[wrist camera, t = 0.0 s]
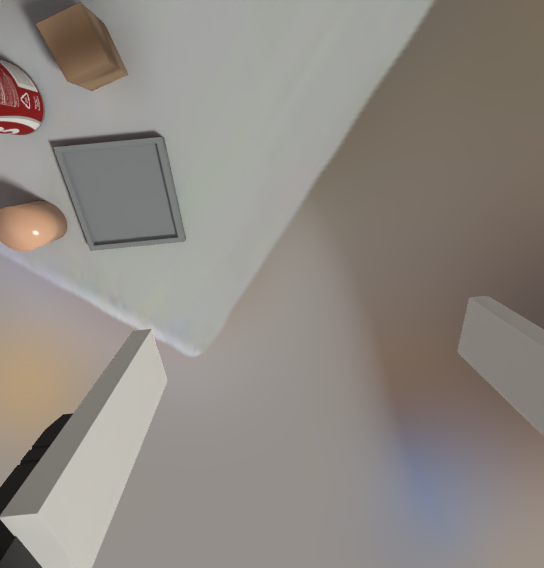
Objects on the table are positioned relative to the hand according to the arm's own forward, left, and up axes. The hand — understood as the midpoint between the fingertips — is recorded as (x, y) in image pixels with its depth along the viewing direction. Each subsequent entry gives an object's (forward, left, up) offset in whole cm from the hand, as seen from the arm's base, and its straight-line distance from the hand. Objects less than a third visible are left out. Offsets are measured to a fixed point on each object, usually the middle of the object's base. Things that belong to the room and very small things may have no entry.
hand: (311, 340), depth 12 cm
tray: (-4, -18, -28) cm, 34 cm away
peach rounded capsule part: (-2, -29, -28) cm, 41 cm away
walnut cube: (-18, -17, -28) cm, 38 cm away
